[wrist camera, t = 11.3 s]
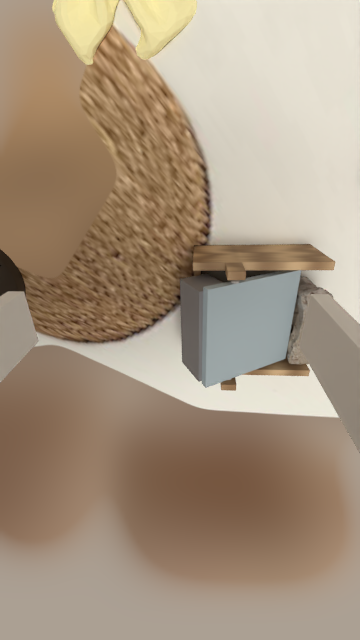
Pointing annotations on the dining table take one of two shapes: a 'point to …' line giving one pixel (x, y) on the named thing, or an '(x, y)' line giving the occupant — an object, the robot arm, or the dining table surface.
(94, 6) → the cloth
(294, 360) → the stone
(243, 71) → the dining table surface
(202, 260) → the frame
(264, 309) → the blue-grey flat square block
